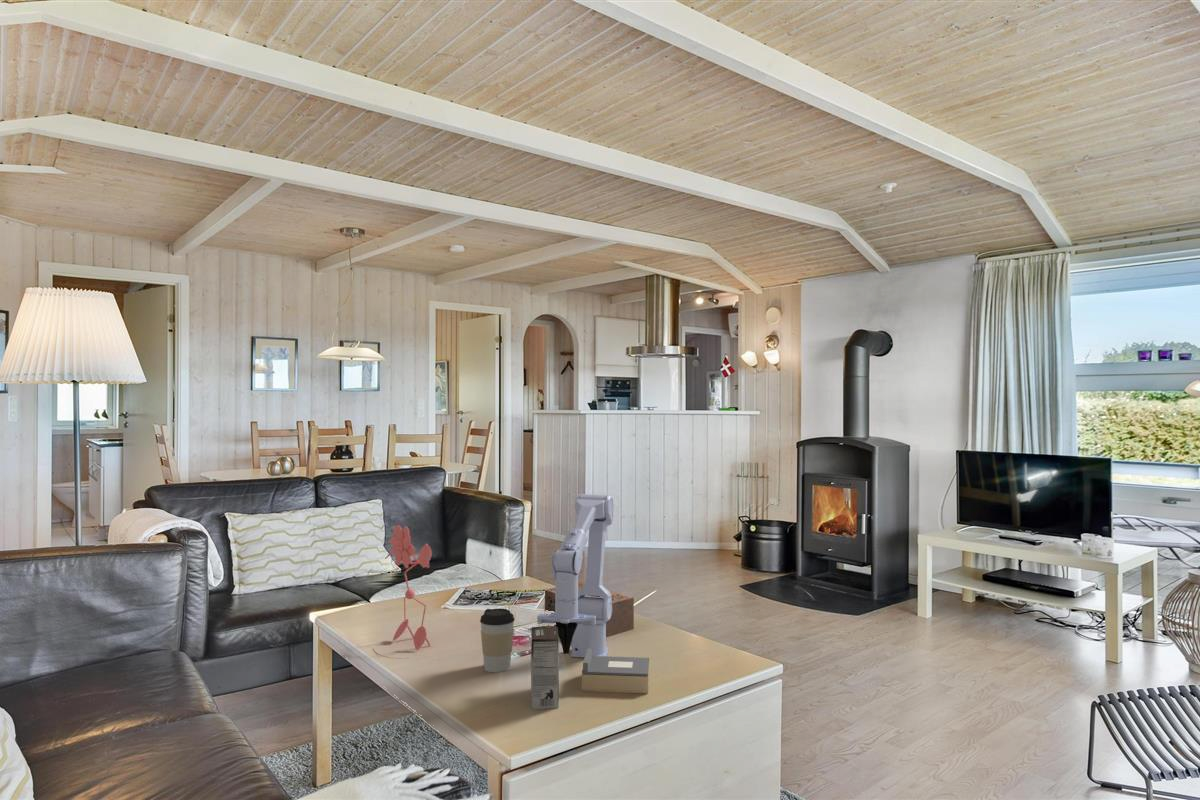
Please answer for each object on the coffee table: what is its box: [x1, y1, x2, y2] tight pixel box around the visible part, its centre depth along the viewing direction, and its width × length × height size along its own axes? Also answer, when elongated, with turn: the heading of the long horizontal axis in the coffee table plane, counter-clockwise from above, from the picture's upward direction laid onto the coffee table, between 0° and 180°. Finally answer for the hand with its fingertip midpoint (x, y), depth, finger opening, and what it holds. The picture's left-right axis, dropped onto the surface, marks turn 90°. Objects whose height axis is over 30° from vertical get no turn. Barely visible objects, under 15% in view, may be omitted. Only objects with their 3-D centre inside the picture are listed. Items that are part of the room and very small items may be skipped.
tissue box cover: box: [544, 581, 635, 638], centre depth 230 cm, size 26×14×10 cm, turn 43°
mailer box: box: [581, 670, 650, 694], centre depth 182 cm, size 16×11×4 cm
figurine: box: [384, 524, 432, 651], centre depth 208 cm, size 15×26×35 cm, turn 43°
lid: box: [581, 649, 650, 676], centre depth 182 cm, size 16×11×2 cm
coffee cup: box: [479, 608, 516, 673], centre depth 193 cm, size 9×9×15 cm
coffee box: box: [530, 626, 560, 710], centre depth 171 cm, size 9×6×16 cm
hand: (566, 652), depth 183 cm, fingers closed
